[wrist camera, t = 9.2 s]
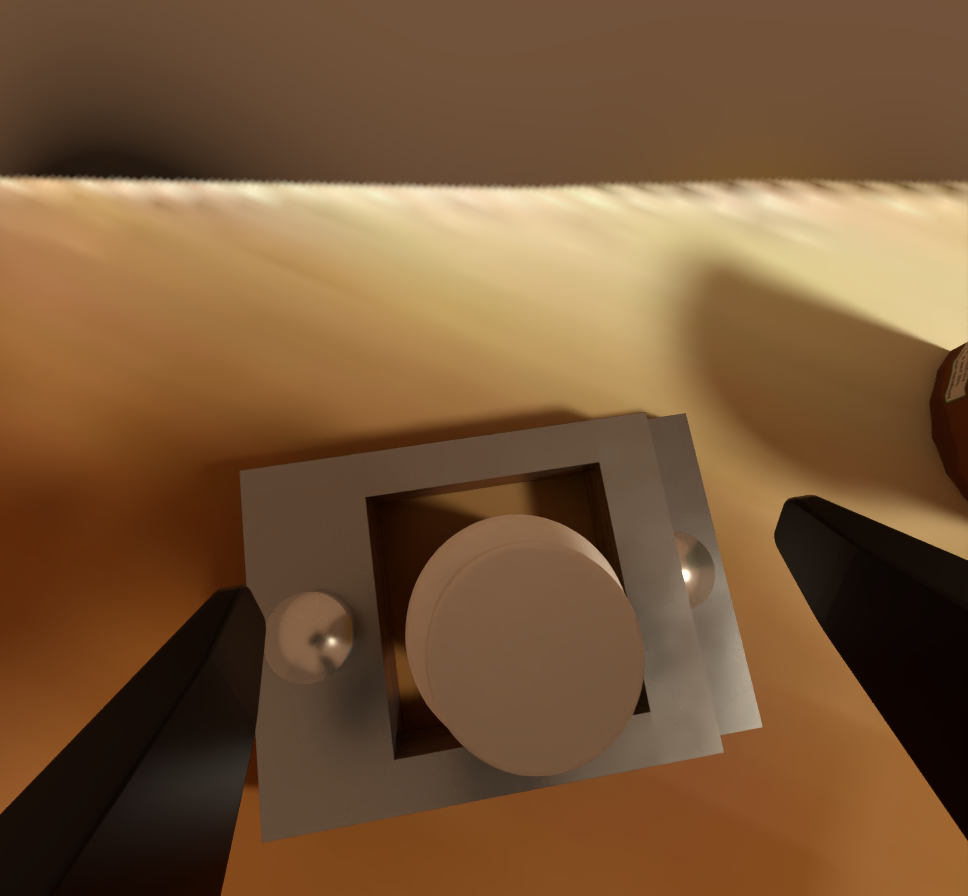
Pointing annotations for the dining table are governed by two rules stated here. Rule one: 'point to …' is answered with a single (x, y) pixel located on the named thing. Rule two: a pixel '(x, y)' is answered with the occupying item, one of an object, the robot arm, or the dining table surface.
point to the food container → (952, 416)
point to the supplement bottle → (525, 645)
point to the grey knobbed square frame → (368, 632)
